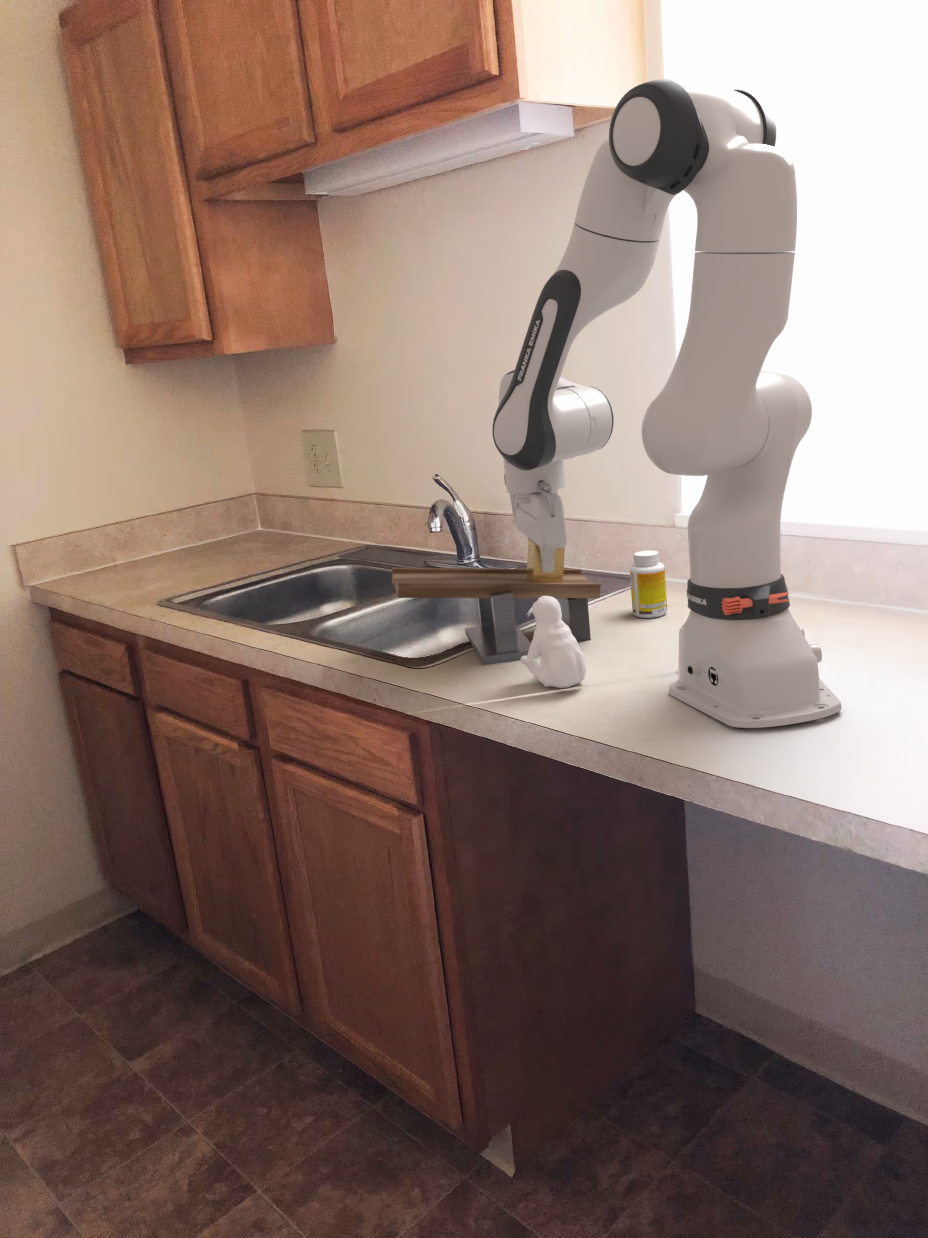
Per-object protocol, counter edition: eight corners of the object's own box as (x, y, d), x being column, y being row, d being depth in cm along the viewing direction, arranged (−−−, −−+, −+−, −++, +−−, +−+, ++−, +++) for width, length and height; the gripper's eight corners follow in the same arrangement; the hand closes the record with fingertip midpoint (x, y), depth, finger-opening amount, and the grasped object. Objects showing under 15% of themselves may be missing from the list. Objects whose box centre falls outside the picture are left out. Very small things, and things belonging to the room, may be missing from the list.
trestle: (598, 647, 149) (593, 582, 146) (483, 665, 147) (475, 599, 144) (570, 620, 165) (565, 560, 162) (465, 635, 163) (458, 575, 160)
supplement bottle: (674, 613, 162) (671, 551, 159) (647, 621, 159) (643, 558, 157) (652, 607, 167) (648, 547, 164) (625, 615, 164) (621, 554, 162)
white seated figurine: (562, 696, 130) (554, 607, 127) (520, 683, 137) (511, 598, 134) (597, 683, 134) (590, 596, 131) (555, 671, 140) (547, 588, 137)
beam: (599, 604, 150) (600, 584, 149) (398, 604, 145) (398, 583, 144) (578, 587, 161) (579, 568, 160) (391, 586, 157) (392, 567, 156)
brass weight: (562, 583, 152) (564, 543, 150) (532, 583, 151) (535, 543, 150) (555, 577, 156) (557, 538, 155) (526, 576, 156) (528, 538, 154)
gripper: (573, 482, 140) (581, 578, 144) (540, 468, 160) (548, 553, 163) (529, 488, 139) (538, 585, 143) (501, 473, 159) (510, 558, 163)
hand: (543, 568), depth 153 cm, fingers closed on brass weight, 5 cm apart
